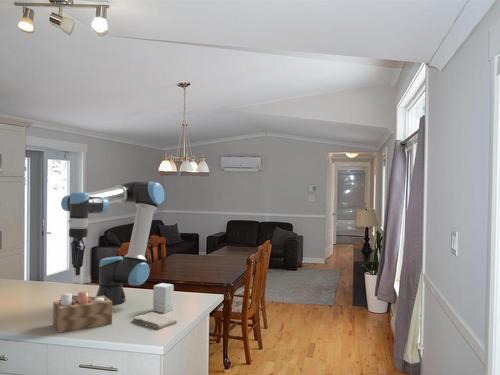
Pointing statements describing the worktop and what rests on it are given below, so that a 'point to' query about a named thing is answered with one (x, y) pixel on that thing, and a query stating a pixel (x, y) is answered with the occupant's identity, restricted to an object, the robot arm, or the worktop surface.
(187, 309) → the worktop surface
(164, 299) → the supplement box
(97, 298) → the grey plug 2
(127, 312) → the worktop surface
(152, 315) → the washcloth
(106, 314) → the walnut socket block
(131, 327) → the worktop surface
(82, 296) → the terracotta plug
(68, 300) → the grey plug
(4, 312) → the worktop surface
